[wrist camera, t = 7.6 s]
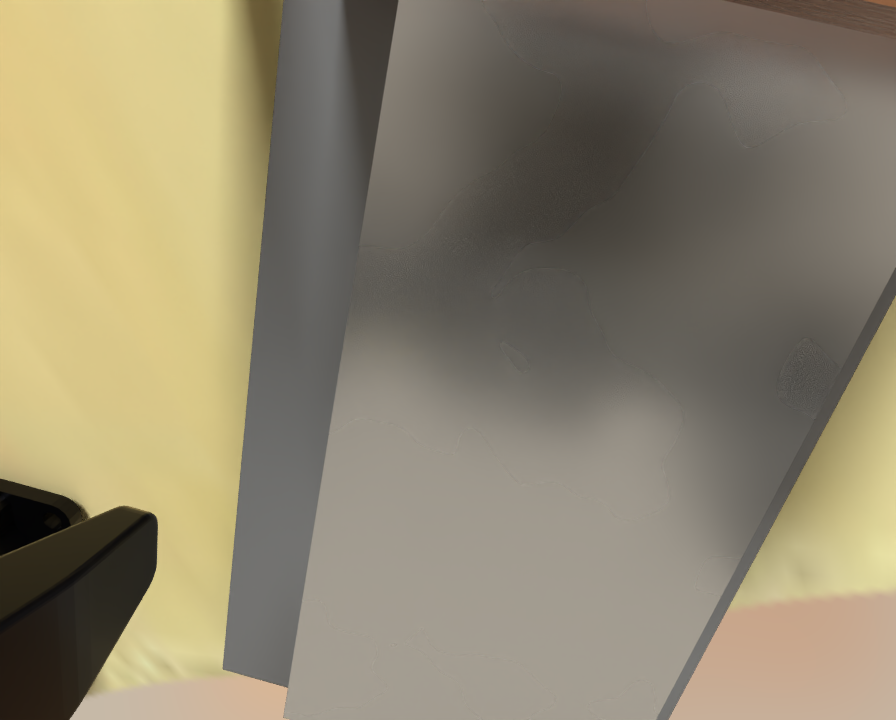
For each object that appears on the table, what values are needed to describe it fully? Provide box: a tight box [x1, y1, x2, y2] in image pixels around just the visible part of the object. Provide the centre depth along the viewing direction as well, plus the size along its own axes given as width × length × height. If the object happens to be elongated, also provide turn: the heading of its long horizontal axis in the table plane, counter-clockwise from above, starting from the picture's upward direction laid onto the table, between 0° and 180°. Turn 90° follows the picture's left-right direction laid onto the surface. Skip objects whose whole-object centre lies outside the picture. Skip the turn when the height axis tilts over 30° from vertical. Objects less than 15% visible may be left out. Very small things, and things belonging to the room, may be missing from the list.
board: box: [223, 0, 896, 720], centre depth 12 cm, size 22×11×1 cm, turn 167°
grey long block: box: [283, 0, 896, 720], centre depth 9 cm, size 15×5×5 cm, turn 167°
